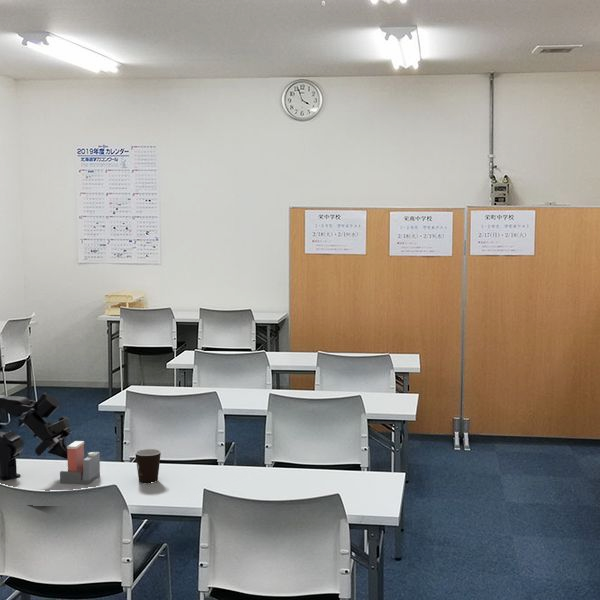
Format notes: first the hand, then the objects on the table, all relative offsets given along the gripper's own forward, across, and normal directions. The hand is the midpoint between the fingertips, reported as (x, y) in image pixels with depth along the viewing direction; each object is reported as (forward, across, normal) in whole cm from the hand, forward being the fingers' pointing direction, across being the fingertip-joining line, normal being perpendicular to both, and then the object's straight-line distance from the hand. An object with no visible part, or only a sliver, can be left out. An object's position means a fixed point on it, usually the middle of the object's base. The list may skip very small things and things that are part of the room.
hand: (70, 458), depth 265 cm
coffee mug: (+24, +3, -13) cm, 28 cm away
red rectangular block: (+5, 0, +3) cm, 6 cm away
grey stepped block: (+7, 0, +3) cm, 8 cm away
